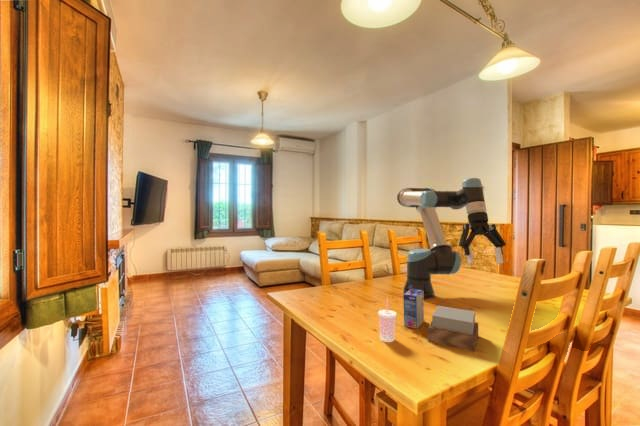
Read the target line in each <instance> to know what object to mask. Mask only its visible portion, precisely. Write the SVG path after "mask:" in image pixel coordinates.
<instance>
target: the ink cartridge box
mask: <svg viewBox="0 0 640 426" xmlns="http://www.w3.org/2000/svg"><path fill="white" fill-rule="evenodd" d="M411 287H412V289H411ZM409 289H410V290H409V291H407V292H406V293H405V294H403V295H402V296H403V297H402V298H403V326H404V327H407V328H412V329H416V330H417V329H419V327H420V326H421V325H422V324H423V323H424V322H425V301H424V300H425V299H424V291H423V290H417V289H414V288H413V286H412V285H410V286H409Z"/></svg>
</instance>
